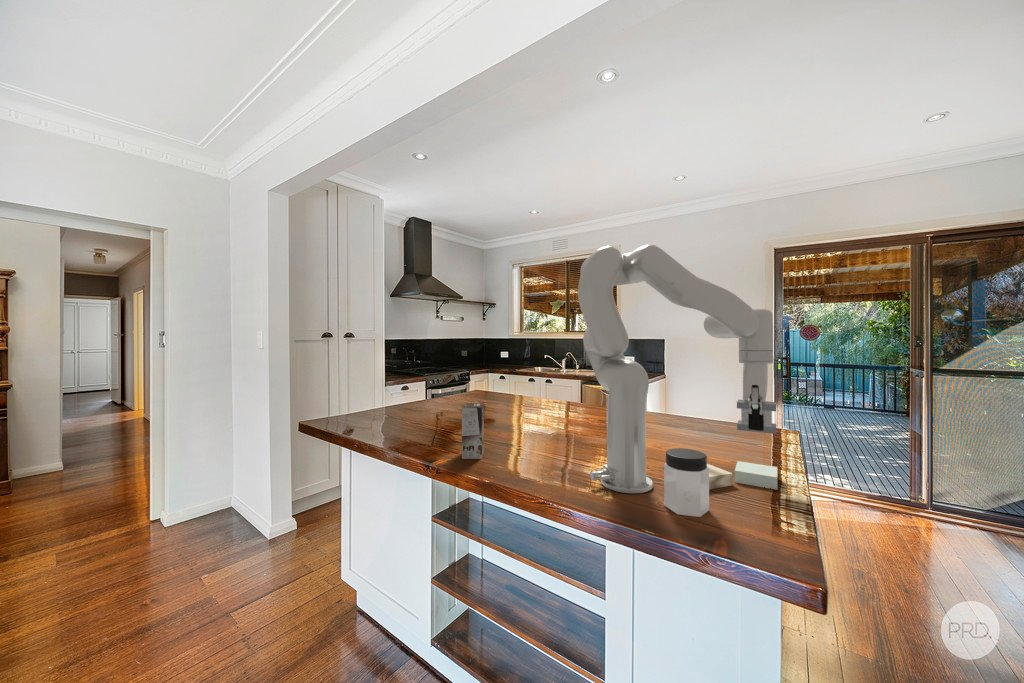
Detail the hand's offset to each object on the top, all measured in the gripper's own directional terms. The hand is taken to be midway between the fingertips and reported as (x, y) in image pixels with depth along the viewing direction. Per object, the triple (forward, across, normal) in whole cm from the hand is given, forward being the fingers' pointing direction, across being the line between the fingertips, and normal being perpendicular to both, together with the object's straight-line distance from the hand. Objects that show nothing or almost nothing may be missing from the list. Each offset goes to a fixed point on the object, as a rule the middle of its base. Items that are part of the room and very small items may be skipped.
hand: (756, 426), depth 99 cm
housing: (+1, 0, 0) cm, 1 cm away
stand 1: (+14, +8, -11) cm, 19 cm away
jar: (+14, +28, -12) cm, 33 cm away
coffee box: (+14, +23, -76) cm, 81 cm away
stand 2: (+14, 0, 0) cm, 14 cm away
